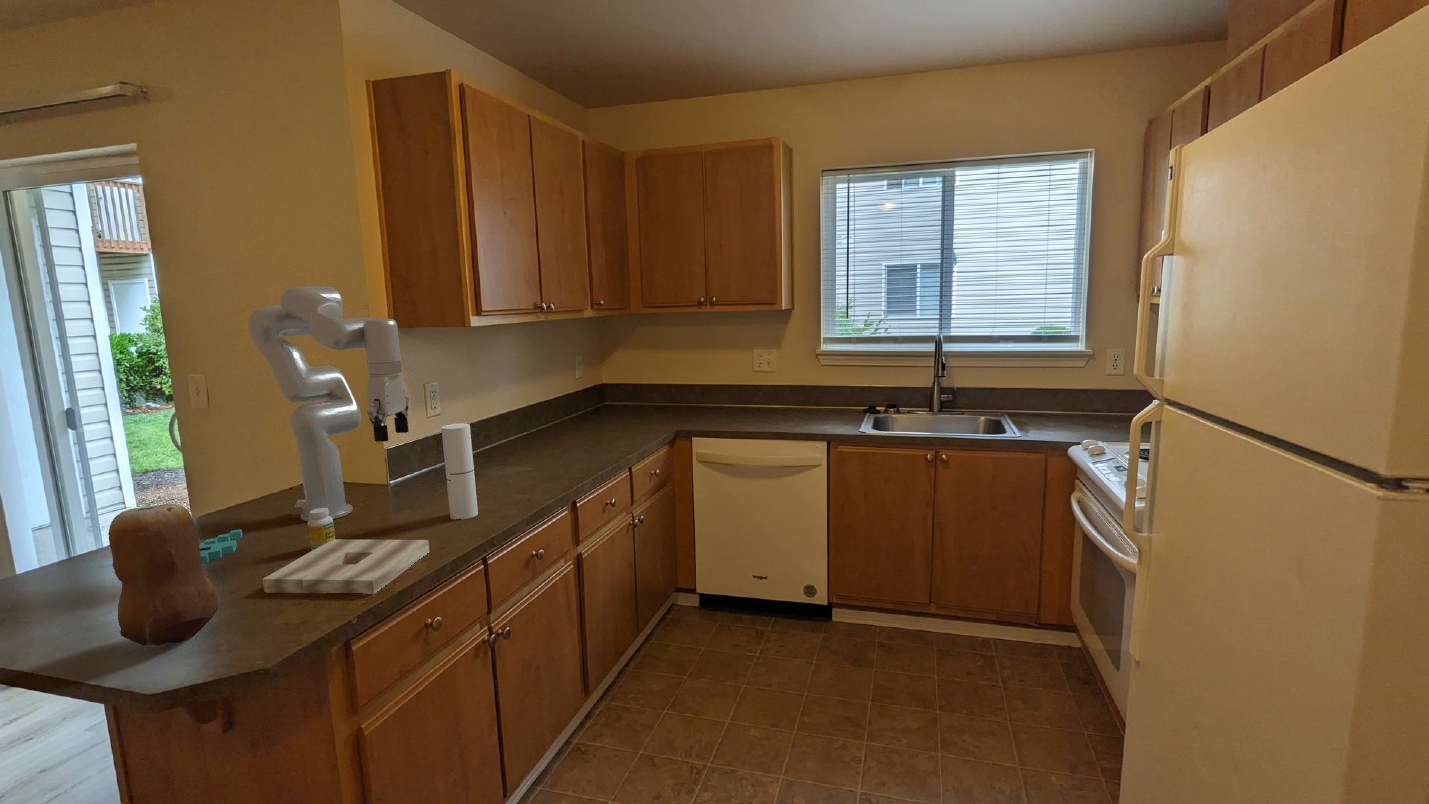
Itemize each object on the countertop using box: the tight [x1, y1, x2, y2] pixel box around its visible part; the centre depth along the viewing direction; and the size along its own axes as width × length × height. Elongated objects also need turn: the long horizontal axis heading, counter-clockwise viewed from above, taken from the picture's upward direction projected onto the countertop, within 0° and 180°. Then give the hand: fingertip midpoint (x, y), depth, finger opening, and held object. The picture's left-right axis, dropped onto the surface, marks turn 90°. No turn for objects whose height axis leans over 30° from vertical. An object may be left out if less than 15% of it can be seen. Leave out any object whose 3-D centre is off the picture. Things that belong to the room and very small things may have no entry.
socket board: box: [262, 538, 430, 595], centre depth 148 cm, size 24×22×3 cm
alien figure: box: [199, 528, 243, 565], centre depth 159 cm, size 20×2×20 cm
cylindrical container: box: [440, 422, 479, 520], centre depth 181 cm, size 7×7×25 cm
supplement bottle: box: [307, 508, 336, 551], centre depth 162 cm, size 5×5×10 cm
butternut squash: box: [108, 503, 219, 646], centre depth 118 cm, size 14×13×25 cm
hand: (392, 436), depth 168 cm, fingers open, 9 cm apart
